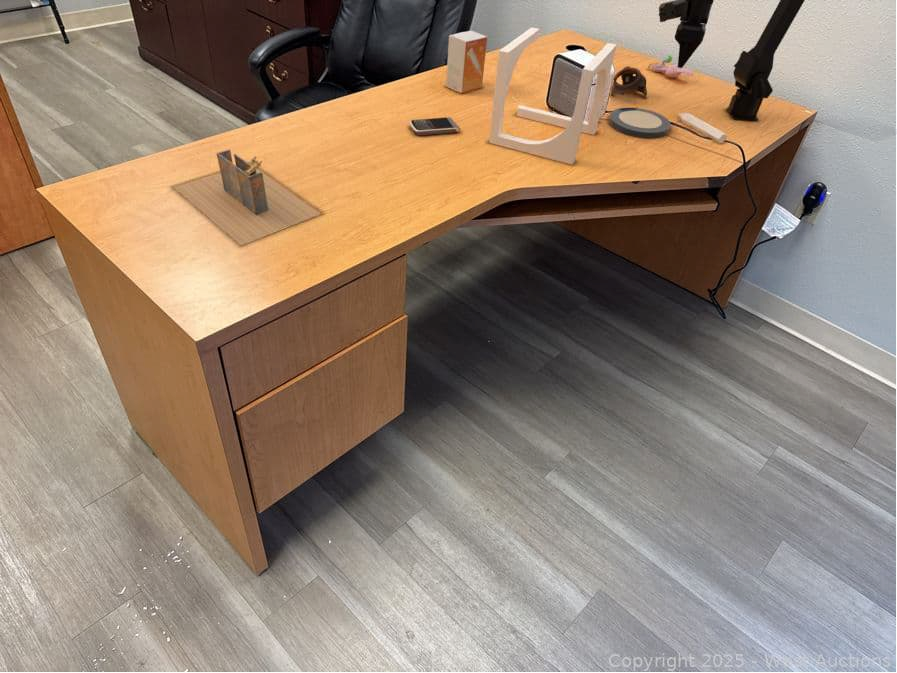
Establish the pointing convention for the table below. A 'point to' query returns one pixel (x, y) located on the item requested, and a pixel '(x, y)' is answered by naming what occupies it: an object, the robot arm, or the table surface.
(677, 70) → the pink elongated piece
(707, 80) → the table surface
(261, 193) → the architectural model on board
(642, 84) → the brown curved piece
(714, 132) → the beige long bar
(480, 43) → the small box
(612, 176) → the table surface
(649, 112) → the plate
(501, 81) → the white open stand
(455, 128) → the cell phone
